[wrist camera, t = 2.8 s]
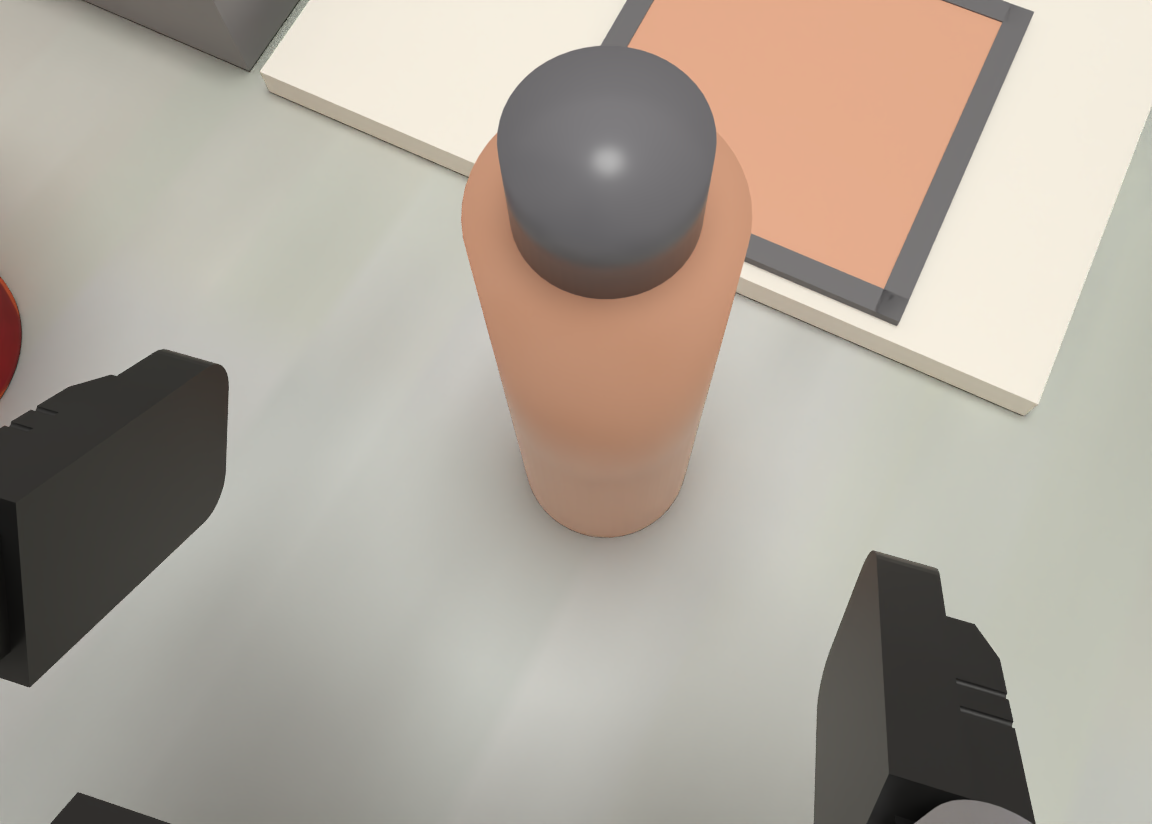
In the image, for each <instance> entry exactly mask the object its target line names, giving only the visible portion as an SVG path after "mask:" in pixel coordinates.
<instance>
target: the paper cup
mask: <svg viewBox="0 0 1152 824" xmlns="http://www.w3.org/2000/svg"><path fill="white" fill-rule="evenodd" d="M20 348H21V321H20V315H19V311H18V307H17V305H16V302H15V299H14V297H13V295H12V293H11V292H10V290H9V288H8V287H7V285H6V284H5V282H4V281H3V280H2V278H1V277H0V398H1V397H2V395H3V394H4V392H5V390H6V389H7V387H8V385H9V383H10V381H11V379H12V376H13V374H14V371H15V368H16V366H17V362H18V358H19V354H20Z"/></svg>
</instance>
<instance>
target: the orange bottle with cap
mask: <svg viewBox="0 0 1152 824" xmlns="http://www.w3.org/2000/svg"><path fill="white" fill-rule="evenodd" d="M461 223H462V232H463V239H464V243H465V247H466V251H467V255H468V259H469V262H470V266H471V270H472V273H473V277H474V281H475V285H476V288H477V292H478V296H479V299H480V303H481V307H482V310H483V314H484V318H485V322H486V325H487V329H488V333H489V336H490V340H491V344H492V347H493V351H494V355H495V359H496V362H497V366H498V370H499V373H500V377H501V381H502V385H503V388H504V392H505V396H506V399H507V403H508V407H509V410H510V414H511V418H512V422H513V425H514V429H515V433H516V436H517V440H518V444H519V447H520V451H521V455H522V459H523V462H524V466H525V470H526V473H527V477H528V481H529V484H530V487H531V489H532V492H533V494H534V495H535V497H536V499H537V501H538V502H539V504H540V505H541V506H542V507H543V509H544V510H545V511H546V512H547V513H548V514H549V515H550V516H551V517H552V518H553V519H555V520H556V521H557V522H559V523H560V524H561V525H563V526H565V527H567V528H569V529H570V530H573V531H575V532H578V533H581V534H584V535H588V536H594V537H618V536H624V535H628V534H631V533H634V532H637V531H639V530H641V529H644V528H645V527H647V526H649V525H650V524H652V523H653V522H655V521H656V520H657V519H659V518H660V517H661V516H662V515H663V514H664V513H665V512H666V511H667V510H668V509H669V507H670V506H671V505H672V503H673V502H674V501H675V499H676V497H677V495H678V493H679V491H680V489H681V486H682V484H683V480H684V477H685V473H686V470H687V466H688V462H689V459H690V455H691V452H692V448H693V444H694V441H695V437H696V433H697V430H698V426H699V423H700V419H701V415H702V412H703V408H704V404H705V401H706V397H707V394H708V390H709V386H710V383H711V379H712V376H713V372H714V368H715V365H716V361H717V357H718V354H719V350H720V347H721V343H722V339H723V336H724V332H725V329H726V325H727V321H728V318H729V314H730V310H731V307H732V303H733V300H734V296H735V292H736V289H737V285H738V282H739V278H740V274H741V271H742V267H743V263H744V260H745V256H746V253H747V249H748V245H749V240H750V236H751V228H752V202H751V196H750V191H749V187H748V183H747V180H746V177H745V175H744V172H743V169H742V167H741V165H740V163H739V162H738V160H737V158H736V156H735V154H734V153H733V151H732V150H731V148H730V147H729V146H728V144H727V143H726V142H725V140H724V139H723V138H722V137H721V136H720V135H719V134H718V133H717V132H716V127H715V122H714V117H713V114H712V111H711V109H710V106H709V104H708V102H707V100H706V98H705V96H704V95H703V93H702V92H701V90H700V89H699V88H698V86H697V85H696V84H695V83H694V82H693V81H692V80H691V79H690V78H689V76H688V75H686V74H685V73H684V72H683V71H681V70H680V69H679V68H678V67H676V66H675V65H673V64H672V63H670V62H668V61H667V60H665V59H663V58H661V57H659V56H656V55H654V54H652V53H649V52H646V51H642V50H639V49H634V48H629V47H622V46H593V47H585V48H581V49H577V50H572V51H569V52H567V53H564V54H561V55H558V56H556V57H554V58H552V59H550V60H548V61H546V62H545V63H543V64H542V65H540V66H539V67H537V68H536V69H534V70H533V71H532V72H531V73H530V74H528V75H527V76H526V77H525V78H524V79H523V80H522V81H521V82H520V84H519V85H518V86H517V87H516V88H515V90H514V91H513V93H512V94H511V95H510V97H509V99H508V101H507V103H506V105H505V106H504V109H503V111H502V114H501V117H500V120H499V126H498V131H497V133H496V134H495V136H494V137H493V138H492V139H491V140H490V141H489V142H488V143H487V145H486V146H485V148H484V149H483V151H482V152H481V154H480V155H479V156H478V158H477V160H476V162H475V164H474V166H473V168H472V170H471V172H470V175H469V178H468V181H467V184H466V187H465V191H464V196H463V201H462V216H461Z"/></svg>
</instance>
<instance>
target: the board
mask: <svg viewBox="0 0 1152 824" xmlns="http://www.w3.org/2000/svg"><path fill="white" fill-rule="evenodd" d="M593 46H622V47H629V48H634V49H639V50H642V51H646V52H649V53H652V54H654V55H656V56H659V57H661V58H663V59H665V60H667V61H668V62H670V63H672V64H673V65H675V66H676V67H678V68H679V69H680V70H681V71H683V72H684V73H685V74H686V75H688V76H689V78H690V79H691V80H692V81H693V82H694V83H695V84H696V85H697V86H698V88H699V89H700V90H701V92H702V93H703V95H704V96H705V98H706V100H707V102H708V104H709V106H710V109H711V111H712V114H713V117H714V122H715V127H716V132H717V133H718V134H719V135H720V136H721V137H722V138H723V139H724V140H725V142H726V143H727V144H728V146H729V147H730V148H731V150H732V151H733V153H734V154H735V156H736V158H737V160H738V162H739V163H740V165H741V167H742V169H743V172H744V175H745V177H746V180H747V183H748V187H749V191H750V196H751V202H752V228H751V236H750V240H749V245H748V249H747V253H746V256H745V260H744V263H743V267H742V271H741V274H740V278H739V282H738V285H737V289H736V292H737V293H739V294H742V295H744V296H746V297H749V298H751V299H753V300H756V301H758V302H760V303H763V304H765V305H767V306H770V307H772V308H774V309H777V310H779V311H781V312H784V313H786V314H788V315H790V316H793V317H795V318H797V319H800V320H802V321H804V322H807V323H809V324H811V325H814V326H816V327H818V328H821V329H823V330H825V331H828V332H830V333H832V334H835V335H837V336H839V337H842V338H844V339H846V340H849V341H851V342H853V343H856V344H858V345H860V346H863V347H865V348H867V349H870V350H872V351H874V352H876V353H879V354H881V355H883V356H886V357H888V358H890V359H893V360H895V361H897V362H900V363H902V364H904V365H907V366H909V367H911V368H914V369H916V370H918V371H921V372H923V373H925V374H928V375H930V376H932V377H935V378H937V379H939V380H942V381H944V382H946V383H949V384H951V385H953V386H956V387H958V388H960V389H962V390H965V391H967V392H969V393H972V394H974V395H976V396H979V397H981V398H983V399H986V400H988V401H990V402H993V403H995V404H997V405H1000V406H1002V407H1004V408H1007V409H1009V410H1011V411H1014V412H1016V413H1018V414H1021V415H1023V416H1025V415H1026V414H1027V413H1028V412H1030V411H1031V410H1032V409H1033V408H1034V407H1036V406H1037V405H1038V404H1039V401H1040V398H1041V396H1042V393H1043V390H1044V388H1045V385H1046V383H1047V380H1048V377H1049V375H1050V372H1051V369H1052V367H1053V364H1054V362H1055V359H1056V356H1057V354H1058V351H1059V348H1060V346H1061V343H1062V341H1063V338H1064V335H1065V333H1066V330H1067V327H1068V325H1069V322H1070V319H1071V317H1072V314H1073V312H1074V309H1075V306H1076V304H1077V301H1078V298H1079V296H1080V293H1081V291H1082V288H1083V285H1084V283H1085V280H1086V277H1087V275H1088V272H1089V270H1090V267H1091V264H1092V262H1093V259H1094V256H1095V254H1096V251H1097V248H1098V246H1099V243H1100V241H1101V238H1102V235H1103V233H1104V230H1105V227H1106V225H1107V222H1108V220H1109V217H1110V214H1111V212H1112V209H1113V206H1114V204H1115V201H1116V199H1117V196H1118V193H1119V191H1120V188H1121V185H1122V183H1123V180H1124V178H1125V175H1126V172H1127V170H1128V167H1129V164H1130V162H1131V159H1132V156H1133V154H1134V151H1135V149H1136V146H1137V143H1138V141H1139V138H1140V135H1141V133H1142V130H1143V128H1144V125H1145V122H1146V120H1147V117H1148V114H1149V112H1150V109H1151V107H1152V0H309V2H308V3H307V4H306V6H305V7H304V9H303V10H302V12H301V13H300V14H299V16H298V17H297V19H296V20H295V22H294V23H293V25H292V26H291V27H290V29H289V30H288V32H287V33H286V35H285V36H284V38H283V39H282V40H281V42H280V43H279V45H278V46H277V48H276V49H275V50H274V52H273V53H272V55H271V56H270V58H269V59H268V61H267V62H266V63H265V65H264V66H263V68H262V69H261V71H260V73H261V75H262V77H263V79H264V81H265V83H266V85H267V87H268V89H269V91H270V92H272V93H274V94H277V95H279V96H281V97H284V98H286V99H288V100H291V101H293V102H295V103H298V104H300V105H302V106H305V107H307V108H309V109H312V110H314V111H316V112H319V113H321V114H323V115H326V116H328V117H330V118H333V119H335V120H337V121H340V122H342V123H344V124H347V125H349V126H351V127H353V128H356V129H358V130H360V131H363V132H365V133H367V134H370V135H372V136H374V137H377V138H379V139H381V140H384V141H386V142H388V143H391V144H393V145H395V146H398V147H400V148H402V149H405V150H407V151H409V152H412V153H414V154H416V155H419V156H421V157H423V158H426V159H428V160H430V161H433V162H435V163H437V164H439V165H442V166H444V167H446V168H449V169H451V170H453V171H456V172H458V173H460V174H463V175H465V176H467V177H469V175H470V172H471V170H472V168H473V166H474V164H475V162H476V160H477V158H478V156H479V155H480V154H481V152H482V151H483V149H484V148H485V146H486V145H487V143H488V142H489V141H490V140H491V139H492V138H493V137H494V136H495V134H496V133H497V131H498V126H499V120H500V117H501V114H502V111H503V109H504V106H505V105H506V103H507V101H508V99H509V97H510V95H511V94H512V93H513V91H514V90H515V88H516V87H517V86H518V85H519V84H520V82H521V81H522V80H523V79H524V78H525V77H526V76H527V75H528V74H530V73H531V72H532V71H533V70H534V69H536V68H537V67H539V66H540V65H542V64H543V63H545V62H546V61H548V60H550V59H552V58H554V57H556V56H558V55H561V54H564V53H567V52H569V51H572V50H577V49H581V48H585V47H593Z"/></svg>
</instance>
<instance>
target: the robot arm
mask: <svg viewBox="0 0 1152 824" xmlns="http://www.w3.org/2000/svg"><path fill="white" fill-rule="evenodd" d="M228 391H229V382H228V376H227V373H226V370H225V369H224V367H223V366H221V365H219V364H216V363H212V362H209V361H205V360H202V359H198V358H195V357H191V356H188V355H184V354H180V353H177V352H173V351H170V350H165V349H162V350H158V351H156V352H154V353H153V354H151V355H149V356H148V357H146V358H145V359H143V360H141V361H140V362H138V363H137V364H135V365H133V366H132V367H130V368H129V369H127V370H126V371H124V372H122V373H121V374H119V375H118V376H114V375H109V376H105V377H102V378H98V379H95V380H91V381H88V382H84V383H81V384H77V385H74V386H70V387H68V388H66V389H64V390H63V391H61V392H60V393H58V394H56V395H55V396H53V397H51V398H50V399H48V400H46V401H45V402H43V403H41V404H40V405H38V406H37V409H36V411H33V410H30V411H28V412H26V413H25V414H23V415H21V416H20V417H18V418H16V419H15V420H13V421H12V422H11V425H10V427H7V426H3V427H2V428H0V678H3V679H6V680H9V681H12V682H15V683H18V684H21V685H24V686H27V687H31V686H32V685H33V684H34V683H35V682H36V681H37V680H38V679H39V678H40V677H41V676H42V675H43V674H44V673H46V672H47V671H48V670H49V669H50V668H51V667H52V666H53V665H54V664H55V663H56V662H57V661H58V660H59V659H60V658H61V657H62V656H63V655H65V654H66V653H67V652H68V651H69V650H70V649H71V648H72V647H73V646H74V645H75V644H76V643H77V642H78V641H79V640H80V639H81V638H83V637H84V636H85V635H86V634H87V633H88V632H89V631H90V630H91V629H92V628H93V627H94V626H95V625H96V624H97V623H98V622H99V621H100V620H102V619H103V618H104V617H105V616H106V615H107V614H108V613H109V612H110V611H111V610H112V609H113V608H114V607H115V606H116V605H117V604H118V603H119V602H121V601H122V600H123V599H124V598H125V597H126V596H127V595H128V594H129V593H130V592H131V591H132V590H133V589H134V588H135V587H136V586H137V585H139V584H140V583H141V582H142V581H143V580H144V579H145V578H146V577H147V576H148V575H149V574H150V573H151V572H152V571H153V570H154V569H155V568H156V567H158V566H159V565H160V564H161V563H162V562H163V561H164V560H165V559H166V558H167V557H168V556H169V555H170V554H171V553H172V552H173V551H174V550H175V549H177V548H178V547H179V546H180V545H181V544H182V543H183V542H184V541H185V540H186V539H187V538H188V537H189V536H190V535H191V534H192V533H193V532H195V531H196V530H197V529H198V528H199V527H200V526H201V525H202V524H203V523H204V522H205V521H206V520H207V519H208V517H209V516H210V515H211V513H212V512H213V510H214V508H215V506H216V504H217V503H218V500H219V498H220V495H221V492H222V489H223V485H224V481H225V473H226V448H227V420H228ZM1006 695H1007V690H1006V686H1005V681H1004V676H1003V672H1002V667H1001V662H1000V659H999V657H998V656H997V655H996V653H995V652H994V650H993V649H992V648H991V646H990V645H989V643H988V642H987V641H986V639H985V638H984V637H983V635H982V634H981V632H980V631H979V630H978V628H977V627H976V626H975V624H972V623H968V622H965V621H961V620H958V619H955V618H951V617H948V616H946V613H945V606H944V600H943V593H942V587H941V580H940V574H939V571H938V569H936V568H934V567H930V566H927V565H923V564H920V563H916V562H912V561H909V560H905V559H902V558H898V557H895V556H891V555H888V554H884V553H881V552H877V551H871V552H870V553H869V555H868V556H867V558H866V560H865V562H864V564H863V567H862V569H861V572H860V574H859V577H858V579H857V582H856V585H855V587H854V590H853V592H852V595H851V598H850V600H849V603H848V605H847V608H846V611H845V613H844V616H843V618H842V621H841V623H840V626H839V629H838V631H837V634H836V636H835V639H834V642H833V644H832V647H831V649H830V652H829V655H828V658H827V661H826V664H825V668H824V671H823V675H822V680H821V684H820V690H819V696H818V704H817V730H816V765H815V800H814V824H1035V819H1034V815H1033V810H1032V805H1031V801H1030V796H1029V792H1028V787H1027V782H1026V778H1025V773H1024V769H1023V764H1022V759H1021V755H1020V750H1019V745H1018V741H1017V736H1016V732H1015V728H1012V723H1013V718H1012V713H1011V709H1010V704H1009V700H1008V699H1006ZM51 824H170V823H167V822H164V821H161V820H158V819H155V818H152V817H149V816H146V815H143V814H141V813H138V812H135V811H132V810H129V809H126V808H123V807H120V806H117V805H114V804H111V803H108V802H105V801H102V800H99V799H96V798H94V797H91V796H88V795H85V794H82V793H79V792H78V793H77V794H76V795H75V796H74V797H73V798H72V800H71V801H70V802H69V803H68V804H67V805H66V806H65V808H64V809H63V810H62V811H61V812H60V813H59V814H58V816H57V817H56V818H55V819H54V820H53V821H52V822H51Z"/></svg>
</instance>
